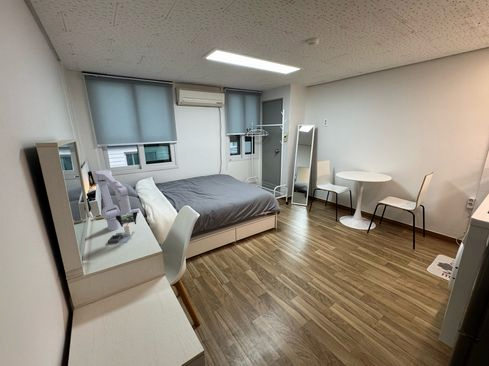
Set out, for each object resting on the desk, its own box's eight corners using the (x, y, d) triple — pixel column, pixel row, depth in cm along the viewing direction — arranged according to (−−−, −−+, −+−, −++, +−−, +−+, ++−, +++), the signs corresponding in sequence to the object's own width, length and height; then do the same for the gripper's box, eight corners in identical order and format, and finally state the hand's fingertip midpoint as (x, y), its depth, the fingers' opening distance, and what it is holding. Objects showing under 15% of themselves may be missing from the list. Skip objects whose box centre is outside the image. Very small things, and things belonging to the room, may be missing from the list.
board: (117, 234, 147) (116, 232, 146) (135, 232, 148) (134, 230, 148) (106, 246, 132) (106, 243, 132) (127, 244, 134) (126, 242, 134)
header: (113, 238, 140) (112, 235, 139) (122, 237, 141) (122, 234, 140) (108, 243, 133) (107, 240, 133) (118, 242, 134) (117, 240, 133)
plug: (127, 232, 146) (126, 223, 145) (132, 232, 147) (130, 222, 145) (125, 235, 143) (123, 225, 141) (130, 235, 143) (128, 225, 141)
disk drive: (136, 223, 165) (134, 216, 177) (135, 219, 164) (133, 213, 176) (121, 226, 159) (120, 219, 171) (120, 223, 159) (119, 216, 171)
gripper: (110, 209, 129) (115, 229, 132) (137, 205, 134) (140, 224, 137) (112, 206, 135) (117, 225, 138) (137, 202, 141) (141, 220, 144)
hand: (128, 224), depth 138 cm, fingers open, 7 cm apart
